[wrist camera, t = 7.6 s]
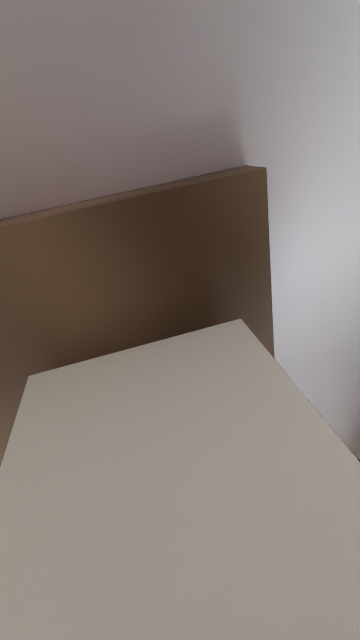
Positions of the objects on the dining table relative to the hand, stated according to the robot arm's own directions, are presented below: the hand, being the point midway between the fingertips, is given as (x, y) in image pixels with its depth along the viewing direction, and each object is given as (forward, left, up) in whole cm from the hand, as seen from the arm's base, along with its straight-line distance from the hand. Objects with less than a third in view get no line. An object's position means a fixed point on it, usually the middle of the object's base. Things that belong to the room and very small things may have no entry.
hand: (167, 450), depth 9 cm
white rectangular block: (0, 0, -1) cm, 1 cm away
